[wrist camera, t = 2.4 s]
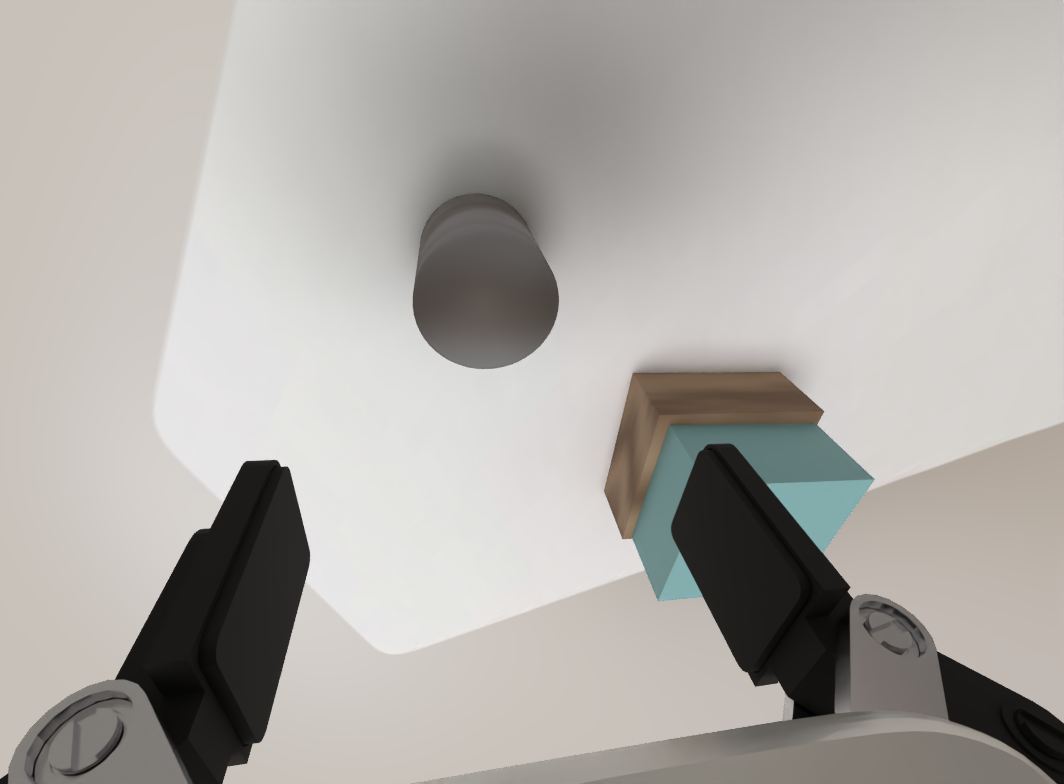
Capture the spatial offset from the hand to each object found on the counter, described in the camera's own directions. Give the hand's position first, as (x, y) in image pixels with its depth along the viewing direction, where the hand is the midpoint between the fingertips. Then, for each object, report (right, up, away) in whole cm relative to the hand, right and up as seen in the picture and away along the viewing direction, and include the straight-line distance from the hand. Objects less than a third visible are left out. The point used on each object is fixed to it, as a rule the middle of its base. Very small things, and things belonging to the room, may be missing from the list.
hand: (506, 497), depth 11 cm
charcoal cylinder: (-2, +10, +14) cm, 17 cm away
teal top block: (+13, -4, +21) cm, 25 cm away
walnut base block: (+12, -1, +24) cm, 27 cm away
